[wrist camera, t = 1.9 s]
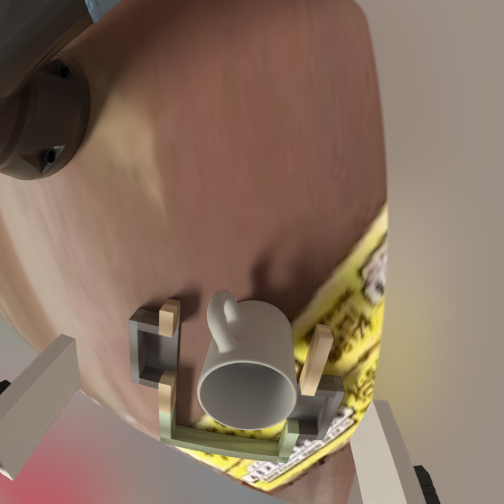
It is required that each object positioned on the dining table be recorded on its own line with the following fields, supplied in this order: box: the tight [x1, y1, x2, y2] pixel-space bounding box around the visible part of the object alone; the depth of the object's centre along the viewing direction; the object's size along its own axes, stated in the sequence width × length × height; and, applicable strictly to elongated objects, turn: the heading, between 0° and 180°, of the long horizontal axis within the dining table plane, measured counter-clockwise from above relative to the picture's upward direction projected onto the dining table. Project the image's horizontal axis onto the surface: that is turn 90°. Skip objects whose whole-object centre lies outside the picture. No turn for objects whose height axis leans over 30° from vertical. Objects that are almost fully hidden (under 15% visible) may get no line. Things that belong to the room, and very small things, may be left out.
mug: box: [197, 290, 298, 430], centre depth 29 cm, size 12×8×11 cm
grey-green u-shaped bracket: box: [129, 298, 345, 463], centre depth 36 cm, size 22×25×3 cm
